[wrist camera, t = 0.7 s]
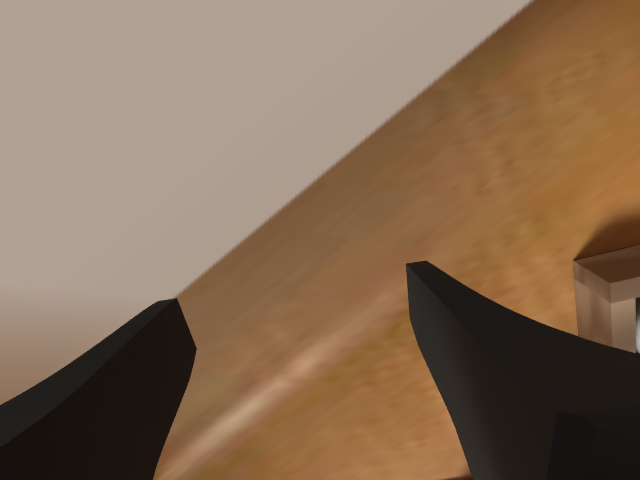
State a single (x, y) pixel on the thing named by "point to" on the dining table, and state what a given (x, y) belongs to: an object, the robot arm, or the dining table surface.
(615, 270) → the dome housing
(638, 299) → the dome
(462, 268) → the dining table surface
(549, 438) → the robot arm
